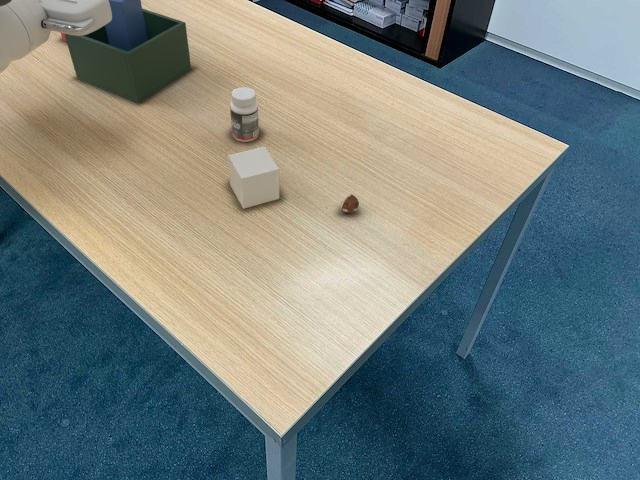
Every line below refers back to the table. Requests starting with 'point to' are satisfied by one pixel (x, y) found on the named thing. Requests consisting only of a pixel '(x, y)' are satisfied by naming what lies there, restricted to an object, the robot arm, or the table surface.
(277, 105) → the table surface
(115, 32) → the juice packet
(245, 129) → the pill bottle
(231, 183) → the white cube
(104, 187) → the table surface
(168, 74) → the waste bin
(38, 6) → the robot arm
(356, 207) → the chocolate
